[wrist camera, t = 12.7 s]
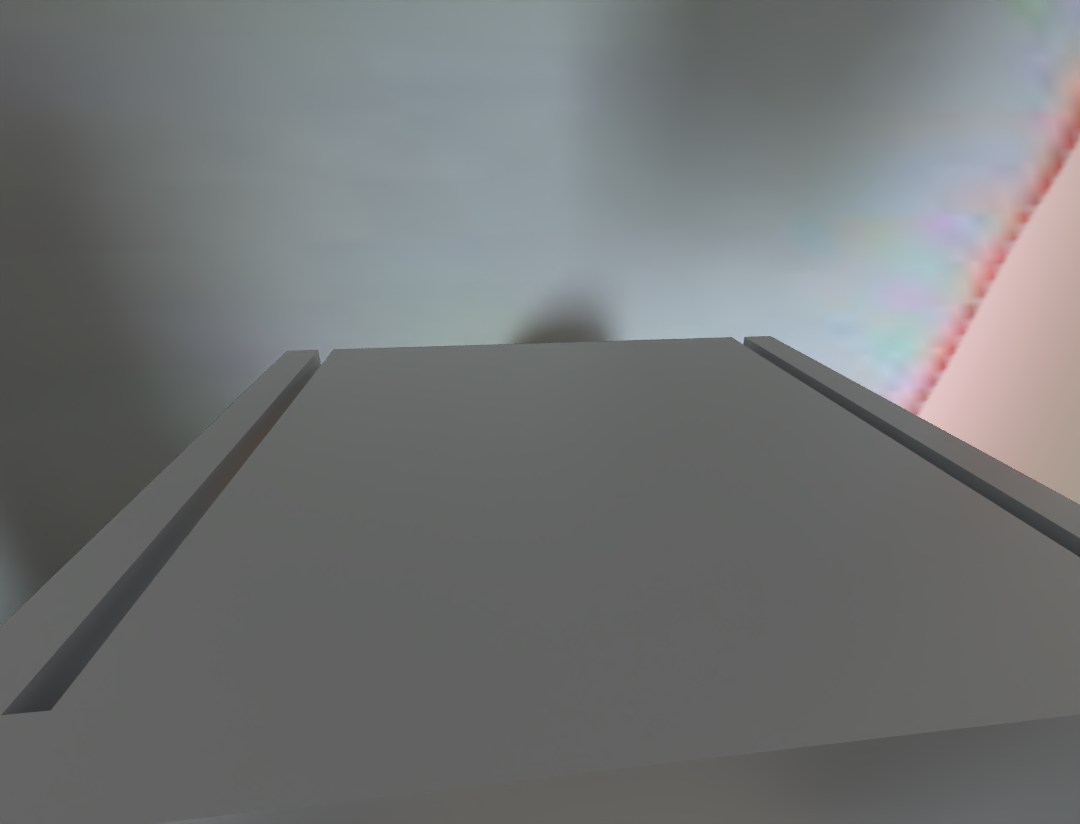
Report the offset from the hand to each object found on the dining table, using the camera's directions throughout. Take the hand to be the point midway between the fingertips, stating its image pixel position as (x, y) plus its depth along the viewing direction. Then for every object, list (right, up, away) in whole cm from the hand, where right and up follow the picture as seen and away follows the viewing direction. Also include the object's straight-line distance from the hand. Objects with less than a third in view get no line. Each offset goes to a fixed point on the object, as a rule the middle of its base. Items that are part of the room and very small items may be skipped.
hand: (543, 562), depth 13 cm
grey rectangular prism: (0, 0, +1) cm, 1 cm away
